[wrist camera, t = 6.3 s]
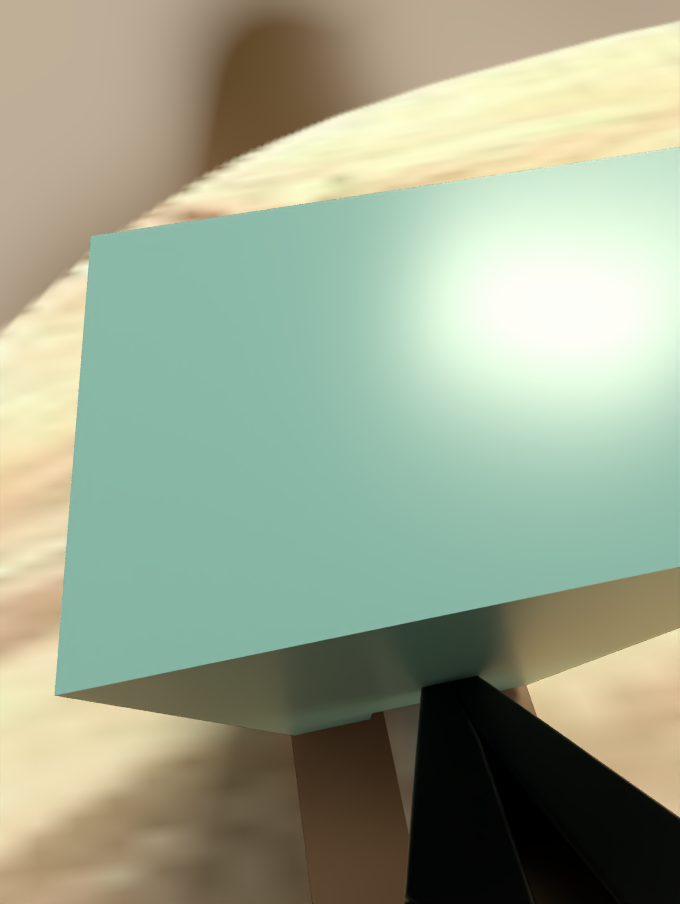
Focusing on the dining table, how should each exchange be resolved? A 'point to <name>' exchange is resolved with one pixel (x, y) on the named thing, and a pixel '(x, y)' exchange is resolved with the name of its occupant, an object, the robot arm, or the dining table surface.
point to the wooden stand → (361, 804)
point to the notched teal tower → (377, 446)
